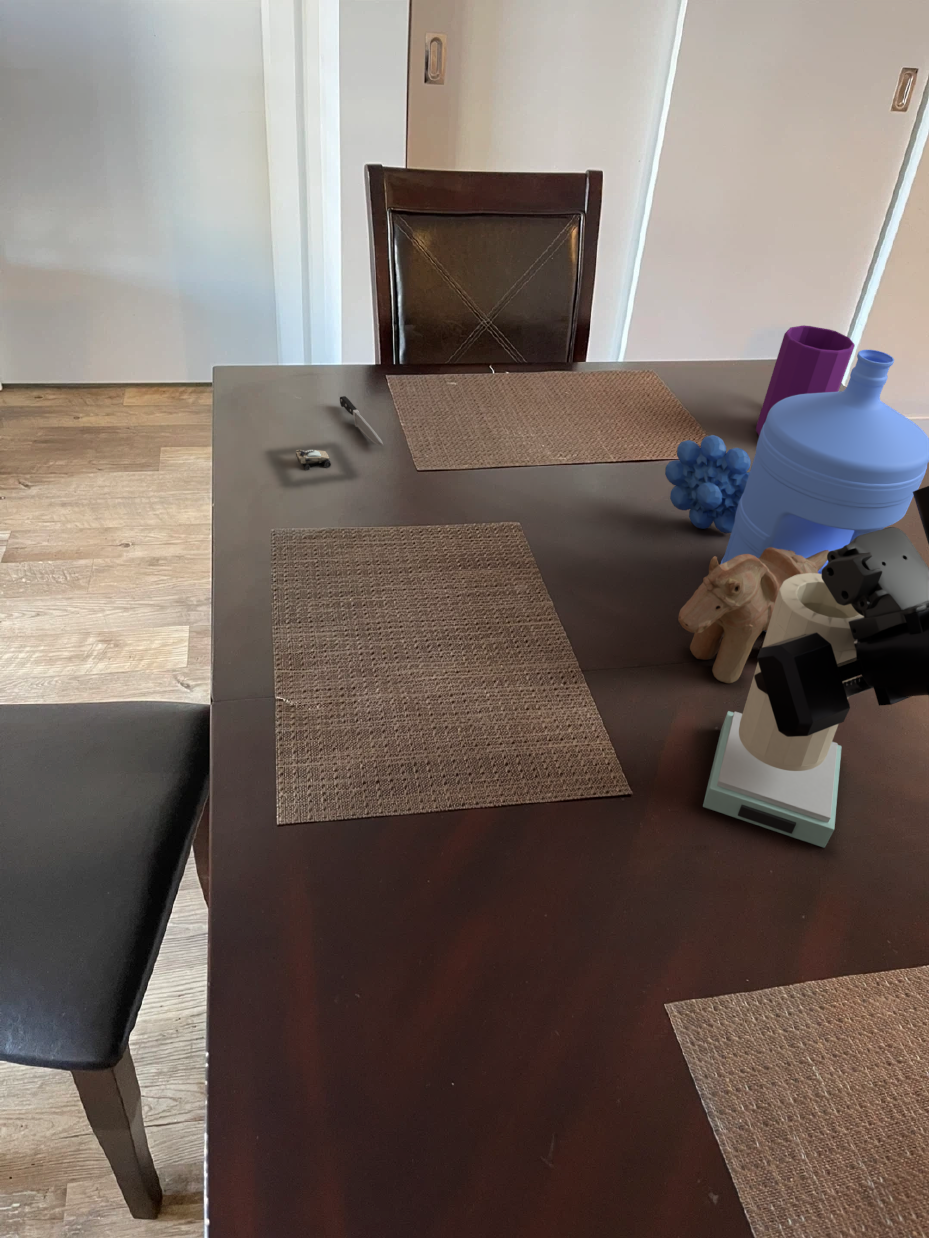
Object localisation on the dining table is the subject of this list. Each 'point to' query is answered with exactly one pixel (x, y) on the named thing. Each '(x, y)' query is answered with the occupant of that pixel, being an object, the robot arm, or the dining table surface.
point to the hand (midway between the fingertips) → (793, 668)
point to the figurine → (739, 605)
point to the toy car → (313, 458)
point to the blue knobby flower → (708, 481)
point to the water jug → (830, 468)
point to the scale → (773, 789)
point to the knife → (360, 421)
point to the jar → (794, 614)
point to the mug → (807, 365)
